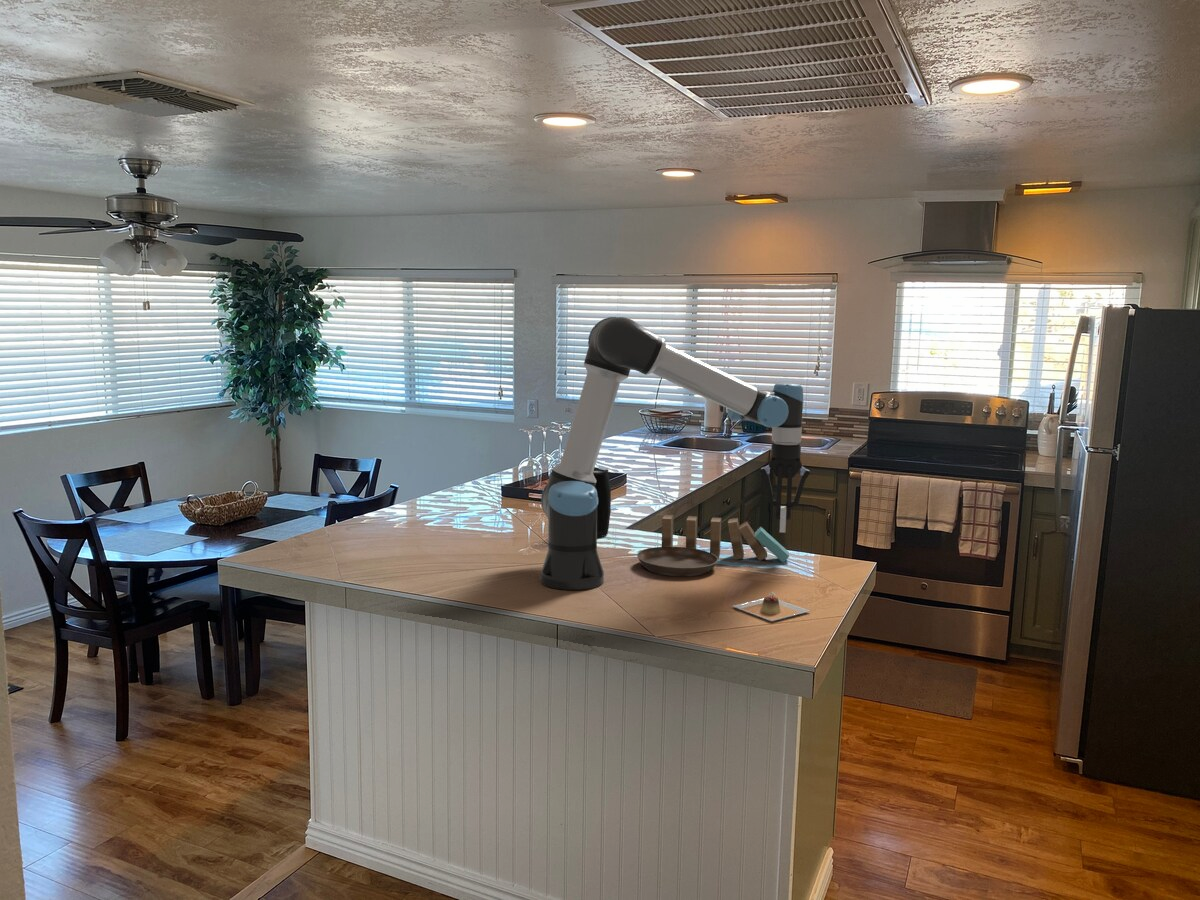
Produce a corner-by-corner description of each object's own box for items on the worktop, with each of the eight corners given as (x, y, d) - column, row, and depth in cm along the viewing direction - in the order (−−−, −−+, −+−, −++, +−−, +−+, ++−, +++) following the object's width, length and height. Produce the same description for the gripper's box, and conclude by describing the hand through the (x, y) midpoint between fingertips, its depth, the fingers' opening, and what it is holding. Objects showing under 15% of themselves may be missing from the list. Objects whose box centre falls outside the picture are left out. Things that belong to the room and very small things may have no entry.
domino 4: (743, 558, 234) (736, 521, 233) (734, 559, 235) (727, 523, 234) (744, 553, 239) (737, 517, 238) (735, 555, 240) (728, 519, 239)
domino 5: (767, 556, 233) (746, 525, 233) (759, 561, 234) (738, 529, 233) (767, 552, 238) (746, 521, 238) (759, 556, 238) (739, 525, 238)
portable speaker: (615, 535, 261) (617, 469, 258) (592, 540, 254) (593, 473, 251) (595, 530, 267) (596, 465, 264) (572, 534, 260) (573, 469, 257)
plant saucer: (723, 561, 234) (723, 549, 233) (710, 583, 214) (710, 569, 213) (647, 555, 239) (647, 543, 239) (627, 575, 220) (628, 562, 219)
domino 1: (670, 555, 238) (671, 519, 237) (661, 554, 239) (662, 518, 238) (672, 550, 243) (673, 515, 242) (663, 550, 244) (664, 514, 242)
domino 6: (789, 556, 232) (760, 530, 232) (783, 562, 232) (754, 537, 233) (788, 551, 237) (760, 526, 237) (782, 558, 237) (754, 532, 238)
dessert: (771, 626, 185) (772, 603, 184) (731, 610, 194) (732, 589, 194) (810, 615, 192) (811, 594, 191) (769, 601, 201) (770, 581, 201)
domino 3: (718, 558, 236) (719, 521, 234) (709, 558, 236) (710, 521, 235) (720, 554, 241) (721, 518, 239) (711, 553, 241) (712, 517, 240)
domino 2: (694, 557, 237) (695, 520, 236) (685, 556, 238) (686, 519, 236) (696, 552, 242) (697, 516, 241) (687, 551, 242) (688, 516, 241)
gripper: (811, 442, 233) (807, 529, 236) (761, 440, 235) (757, 526, 239) (812, 445, 226) (808, 536, 229) (760, 443, 228) (756, 533, 231)
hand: (782, 531), depth 234 cm, fingers closed
